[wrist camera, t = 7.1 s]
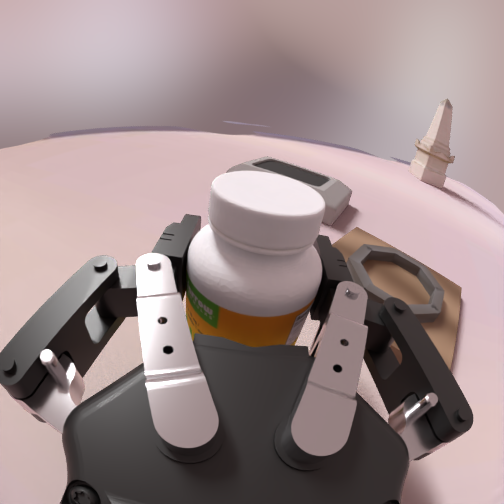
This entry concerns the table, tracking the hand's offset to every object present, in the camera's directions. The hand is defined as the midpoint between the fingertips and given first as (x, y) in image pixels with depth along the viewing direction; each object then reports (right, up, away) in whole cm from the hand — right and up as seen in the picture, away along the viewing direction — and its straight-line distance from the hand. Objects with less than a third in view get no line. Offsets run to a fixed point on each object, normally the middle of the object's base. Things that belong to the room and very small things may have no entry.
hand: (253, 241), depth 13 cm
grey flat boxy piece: (+5, +7, +24) cm, 25 cm away
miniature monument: (+57, +23, +62) cm, 87 cm away
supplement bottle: (-1, -6, +1) cm, 7 cm away
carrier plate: (+12, -4, +8) cm, 15 cm away
